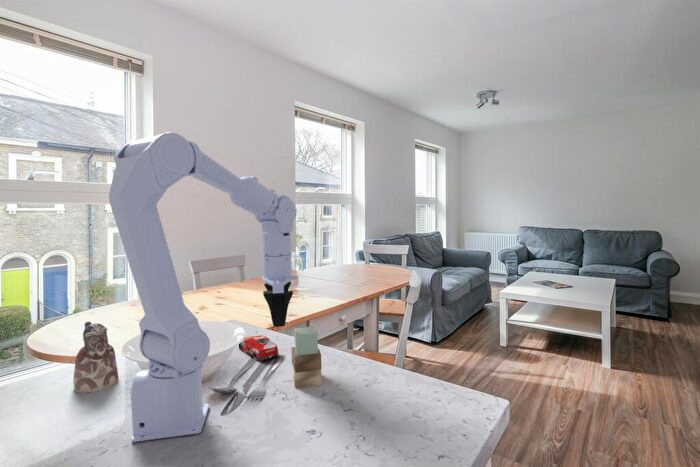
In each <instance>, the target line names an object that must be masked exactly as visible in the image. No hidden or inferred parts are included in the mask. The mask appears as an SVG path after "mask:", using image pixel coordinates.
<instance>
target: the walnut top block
mask: <svg viewBox="0 0 700 467" xmlns="http://www.w3.org/2000/svg"><path fill="white" fill-rule="evenodd" d="M291 364H292V368H293V367H294V371H295V373H297V372H305V371H312V370H319V369H321V370H322V353H321V350H320V349H319V348H318V353H317V354H308V355H299V356H297V355H296V350H295V346H294V347H291Z"/></svg>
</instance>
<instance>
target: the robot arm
mask: <svg viewBox="0 0 700 467" xmlns="http://www.w3.org/2000/svg"><path fill="white" fill-rule="evenodd" d="M113 159H114V162H115V168H114V172H113V176H112V181H111V184H110V185H111V186H110V189H109V191H108V192H109V193H108V200H109V206H110V208H111V210H112V214H113V217H114V221H115V224H116V227H117V230H118V234H119V236H120V241H121V242H122V246H123V249H124V253H125V255H126V256H125V257H126V259H127V261H128V265H129V268H130V271H131V274H132V277H133V281H134V283H135V286H136V290H137V293H138V297H139V300H140V302H141V306H142V309H143V311H144V312H143V313H144V315H143V317H142V318H141V319H140V321H139V322H138V326H139V330H140V340H139V351H140V354H141V355H142V356H143V357H144V359H147V360H148V368H147V369H142V370H138V372H136V374H135V375H134V378H133V381H132V385H131V391H130V392H131V394H130V395H131V396H130V404H131V406H130V407H131V421H132V422H131V423H132V436H131V439H130V440H131V442H133V443H134V442H143V441H150V440H151V441H152V440H159V439H166V438H173V437H182V436H189V435H197V434H200V433H201V432H202V430H203V426H204V424H205V420H206V417H207V414H208V412H209V408H210V404H209V403H203V390H202V389H203V387H202V386H203V385H202V384H203V382H202V368H203V364H204V363H205V362H206V360H207V358H208V356H209V354H210V349H211V342H210V338H209V336H208V334H207V333H206V332H205V331H204V330H203V329H202V328H201V326H200V324H199V321H198V318H197V317H196V315H195V314H194V313H193V312H192V311H191V310H190V309H189V308H188V307H187V306H186V304H185V302H184V298H183V295H182V292H181V288H180V283H179V281H178V277H177V273H176V270H175V267H174V264H173V259H172V255H171V252H170V249H169V245H168V242H167V238H166V234H165V231H164V228H163V224H162V221H161V217H160V213H159V210H158V207H157V204H158V202H159V201H160V200H161V198H162V197H163V196H164V195H165V193H166V192H167V190H168V189H169V188H170V187H172V186H173V185H174V184H176V183H178V182H179V181H180V180H182V179H183V178H185V177H192V178H194V179H197V180H199V181H201V182H203V183H205V184H207V185H209V186H211V187H213V188H216V189H218V190H220V191H222V192H223V193H226V194H228V195H229V198H230V201H231V203H232V204H233V205H236V206H237V207H238V208H241V209H242V210H244V211H246V212H248V213H251V215H254V216H255V218H256V220H257V222H258V223H260V224H261V241H262V243H261V245H262V247H261V248H262V250H261V251H262V276H261V278H262V279H261V280H262V282H263V283H264V287H265V289H266V290H263V292H262V294H263V298H264V299H265V301H266V302H267V306H268V309H269V312H270V317H271V321H272V322H271V323H272V325H273V328H279V327H281V328H282V327H285V326H286V322H287V316H288V315H287V314H288V309H289V305H290V302H291V299H292V297H293V294H294V290H289V289H290V287H291V284H292V281H293V280H298V274H293V272H292V270H293V268H292V238H291V237H292V236H291V235H292V234H291V233H292V232H293V229H294V221H295V219H296V217H297V213H298V212H297V208H296V206H295V203H294V201H293V200H292V199H291V198H290V197H289V196H287V195H284V194H283V195H278V193H277V192H276V191H275V190H274V188H273V189H272V188H268V187H267V186H265V185H263V184H262V183H260V182H259V178H257V177H256V176H252V175H251V176H247V175H246V176H242V177H239V176H237V175H236V174H234V172H232V171H230V170H229V169H227V168H226V167H224V165H221V163H219V162H217V161H216V160H215V159H213V158H212V157H210V156H209V155H207V154H205V153H204V152H203V151H202V150H201V148H200V147H199V145H198V144H197V143H195V142H194V141H190V140H187V139H186V138H185V137H184V136H182V135H181V134H179V133H176V132H164V133H161V134H159V135H154V136H150V137H146V138H142V139H141V138H138V139H132V140H130V141H128V142H126V144H124V145H123V146H122V148H121V149H120V150H118V152H117V153H116V154H115V155H114V156H113Z"/></svg>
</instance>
